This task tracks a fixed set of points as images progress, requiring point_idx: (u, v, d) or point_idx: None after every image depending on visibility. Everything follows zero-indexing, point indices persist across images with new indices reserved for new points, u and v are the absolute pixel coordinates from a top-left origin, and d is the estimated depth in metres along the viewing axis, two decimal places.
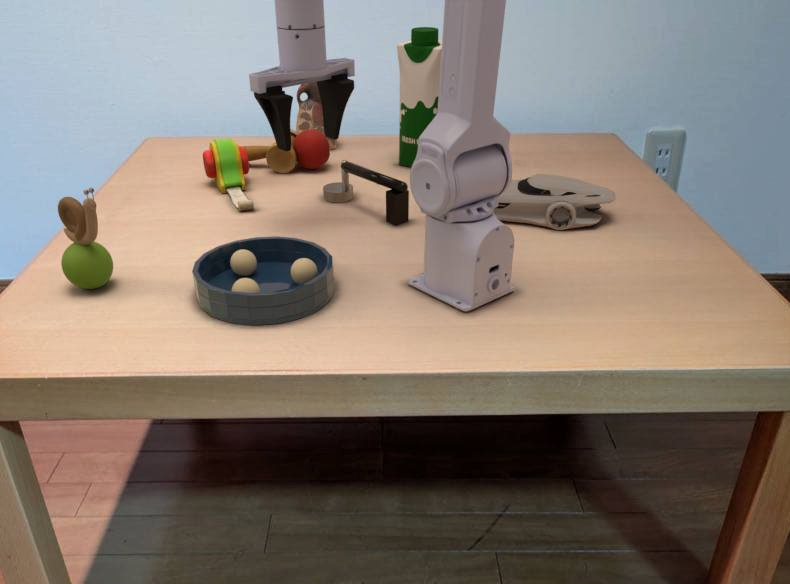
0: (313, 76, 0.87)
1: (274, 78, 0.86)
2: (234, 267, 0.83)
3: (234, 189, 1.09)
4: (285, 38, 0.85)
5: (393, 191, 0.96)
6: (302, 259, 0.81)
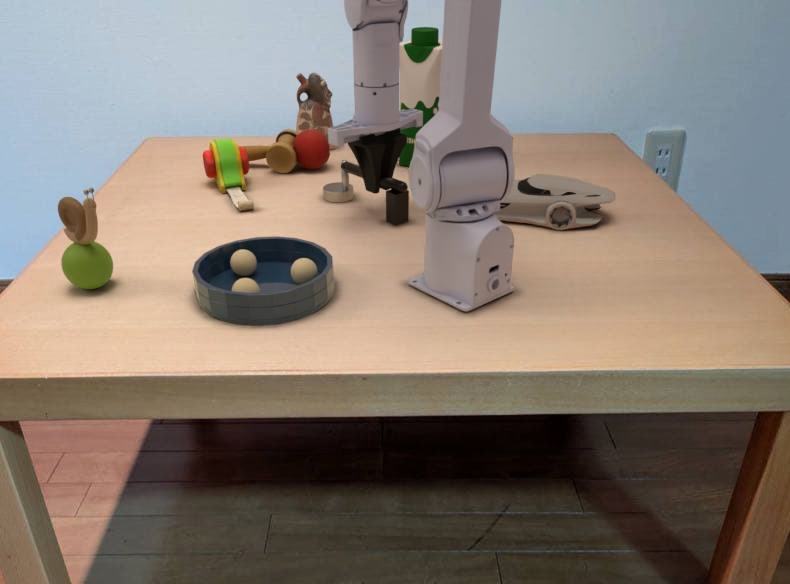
0: (387, 130, 0.92)
1: (352, 132, 0.91)
2: (234, 267, 0.83)
3: (234, 189, 1.09)
4: (363, 95, 0.90)
5: (393, 191, 0.96)
6: (302, 259, 0.81)
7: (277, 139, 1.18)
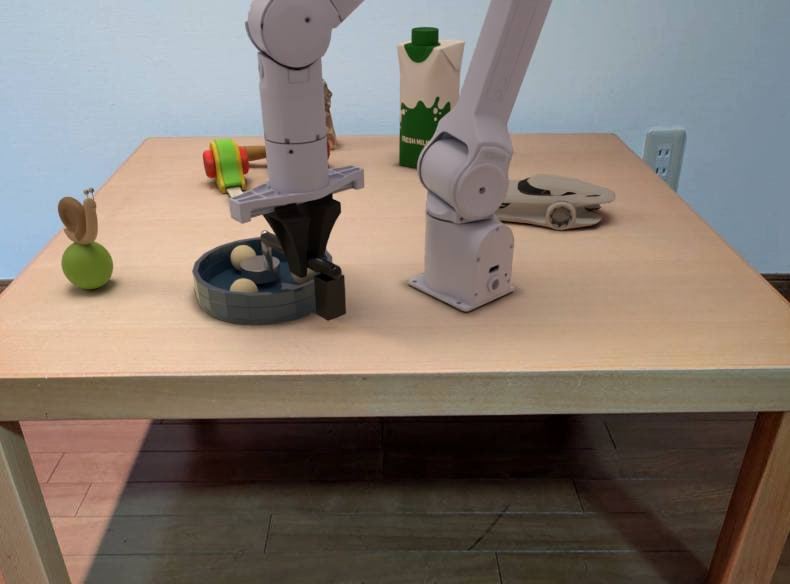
0: (311, 199, 0.68)
1: (262, 204, 0.67)
2: (234, 256, 0.83)
3: (234, 189, 1.09)
4: (275, 153, 0.66)
5: (323, 276, 0.72)
6: None
7: None
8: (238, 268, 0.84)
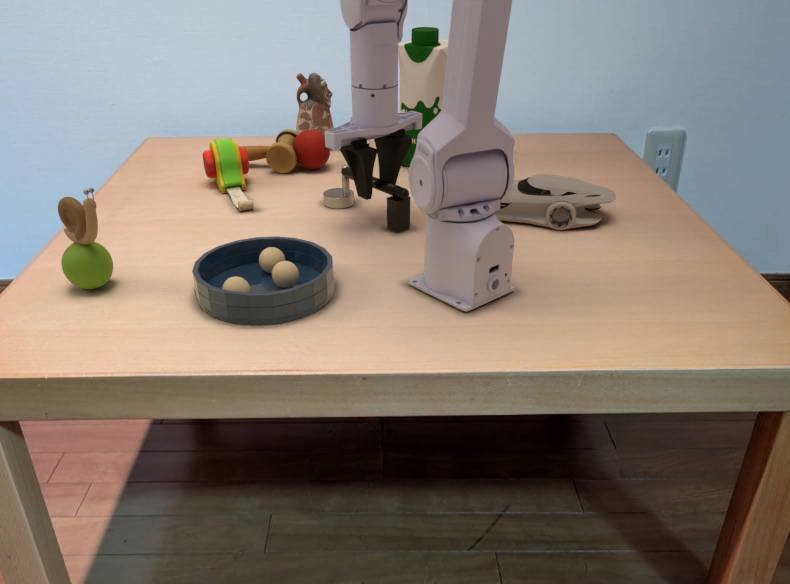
0: (386, 132, 0.90)
1: (349, 135, 0.88)
2: None
3: (233, 189, 1.09)
4: (360, 97, 0.88)
5: (394, 198, 0.94)
6: (272, 275, 0.80)
7: (277, 139, 1.18)
8: None
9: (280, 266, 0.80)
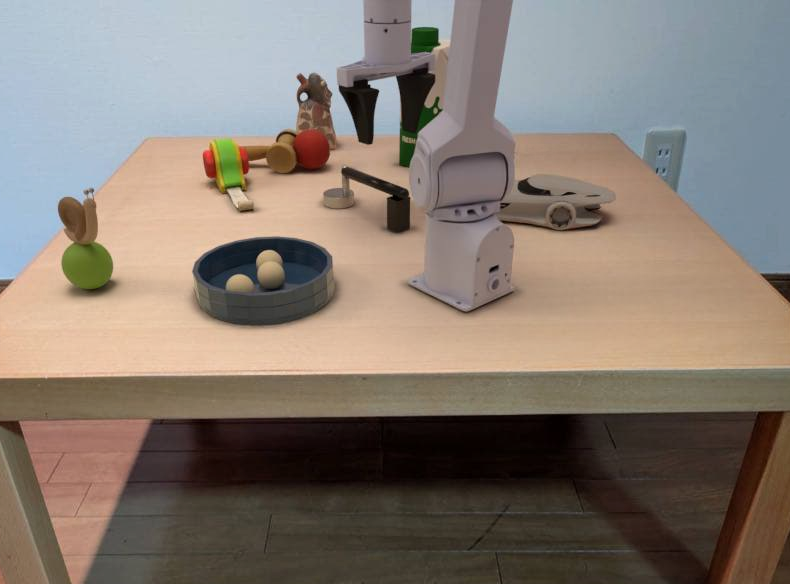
0: (399, 70, 0.88)
1: (362, 72, 0.87)
2: (282, 265, 0.83)
3: (234, 189, 1.09)
4: (373, 32, 0.86)
5: (394, 198, 0.94)
6: None
7: (277, 139, 1.18)
8: None
9: (258, 275, 0.80)
